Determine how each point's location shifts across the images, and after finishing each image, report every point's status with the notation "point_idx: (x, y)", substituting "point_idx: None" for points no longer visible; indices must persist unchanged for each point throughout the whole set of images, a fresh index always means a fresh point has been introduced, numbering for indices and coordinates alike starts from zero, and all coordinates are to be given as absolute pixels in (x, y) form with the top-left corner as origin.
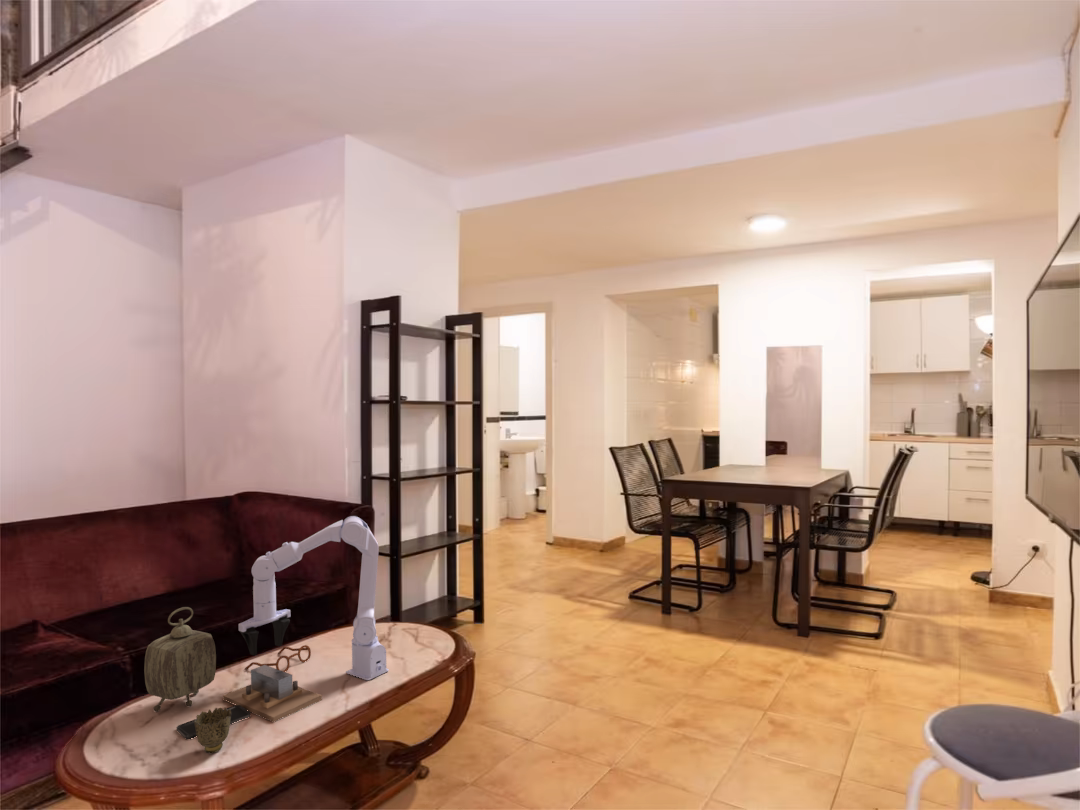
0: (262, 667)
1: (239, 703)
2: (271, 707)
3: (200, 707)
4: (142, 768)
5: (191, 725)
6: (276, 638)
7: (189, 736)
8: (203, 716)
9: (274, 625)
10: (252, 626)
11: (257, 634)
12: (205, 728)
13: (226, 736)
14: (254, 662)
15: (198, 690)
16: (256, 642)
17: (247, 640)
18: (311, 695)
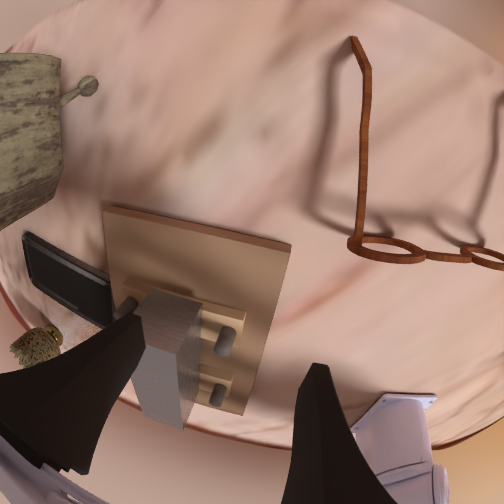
0: (156, 358)
1: (113, 289)
2: None
3: (67, 185)
4: (4, 277)
5: (36, 256)
6: (308, 412)
7: (32, 283)
8: (20, 345)
9: (313, 496)
10: (44, 474)
11: (86, 457)
12: (25, 361)
13: None
14: (368, 82)
15: (90, 94)
16: (105, 412)
17: (65, 368)
18: (231, 404)
